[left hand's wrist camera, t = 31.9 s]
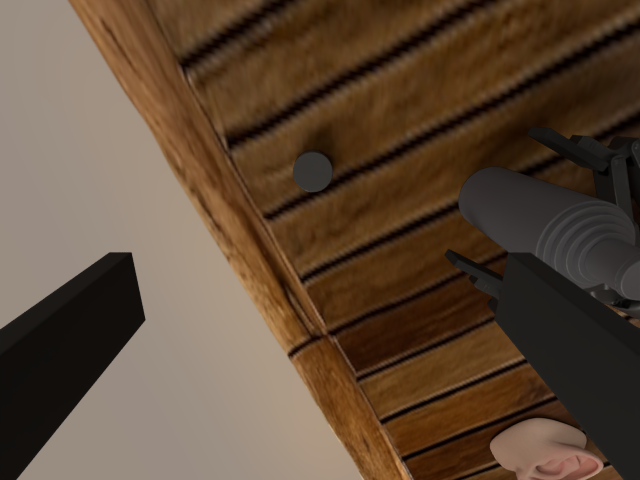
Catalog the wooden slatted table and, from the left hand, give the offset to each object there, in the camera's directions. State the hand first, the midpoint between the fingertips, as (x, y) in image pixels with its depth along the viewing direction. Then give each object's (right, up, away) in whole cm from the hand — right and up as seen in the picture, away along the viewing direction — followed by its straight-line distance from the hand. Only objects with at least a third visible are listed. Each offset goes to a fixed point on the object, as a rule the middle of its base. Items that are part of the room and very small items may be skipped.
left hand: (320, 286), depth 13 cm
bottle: (+19, +6, +27) cm, 33 cm away
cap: (-1, +9, +24) cm, 25 cm away
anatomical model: (+32, -29, +40) cm, 59 cm away
